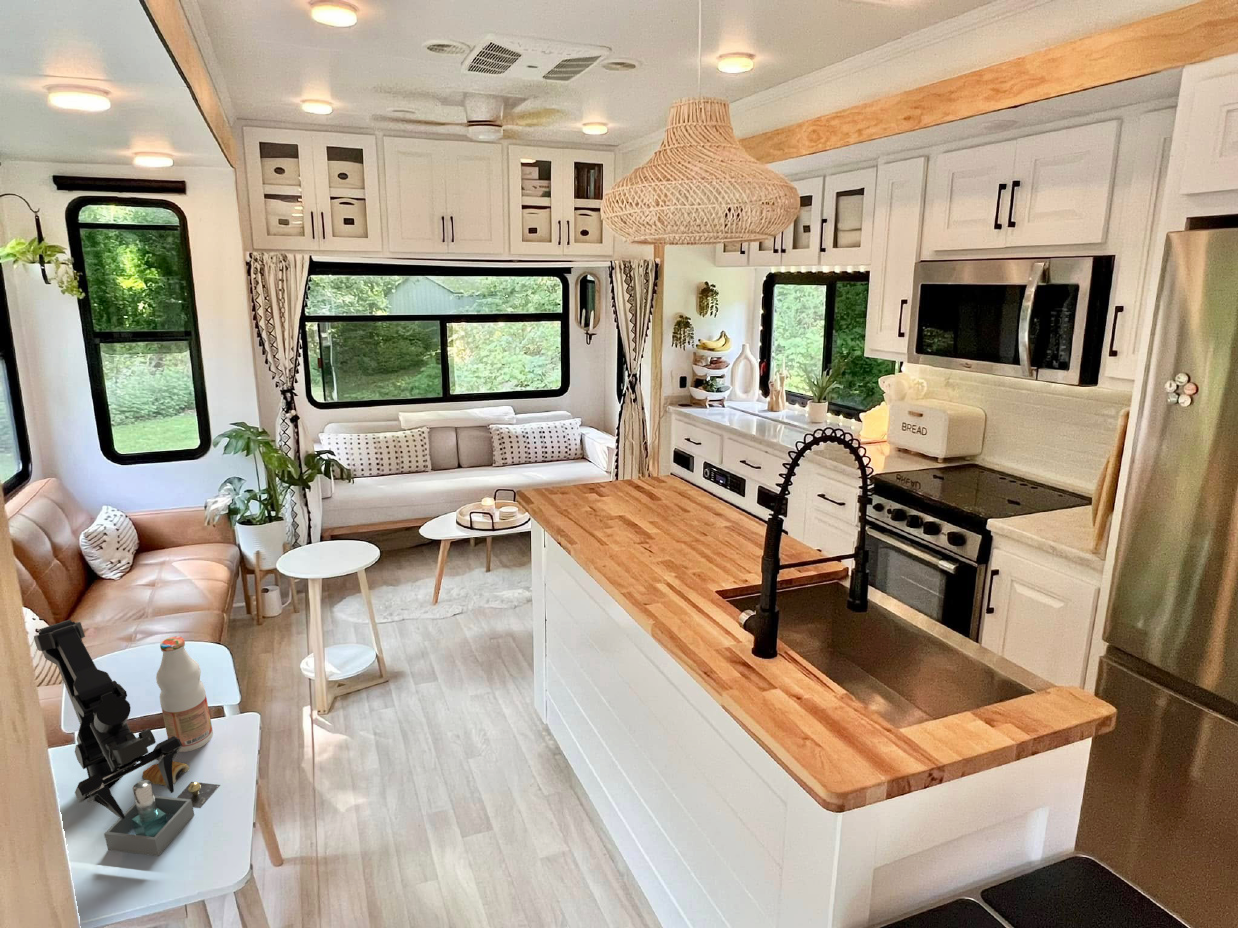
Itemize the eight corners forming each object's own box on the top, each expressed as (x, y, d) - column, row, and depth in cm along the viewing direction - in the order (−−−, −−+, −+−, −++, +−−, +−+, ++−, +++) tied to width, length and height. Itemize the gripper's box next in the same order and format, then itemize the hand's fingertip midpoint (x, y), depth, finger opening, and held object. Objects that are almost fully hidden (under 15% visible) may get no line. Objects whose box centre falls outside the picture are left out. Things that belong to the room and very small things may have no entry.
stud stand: (171, 808, 166) (167, 793, 165) (192, 785, 173) (189, 770, 172) (201, 811, 166) (198, 796, 164) (221, 788, 172) (218, 773, 171)
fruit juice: (161, 753, 183) (138, 651, 174) (186, 728, 192) (166, 629, 183) (198, 756, 182) (178, 653, 173) (221, 731, 191) (203, 632, 182)
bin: (109, 853, 155) (104, 833, 153) (147, 812, 165) (143, 794, 163) (159, 859, 153) (154, 839, 152) (195, 818, 164) (191, 799, 162)
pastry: (135, 786, 173) (132, 772, 172) (157, 766, 179) (154, 752, 178) (173, 791, 172) (170, 777, 170) (193, 770, 178) (191, 757, 177)
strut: (135, 835, 158) (124, 788, 155) (157, 821, 162) (146, 775, 158) (147, 844, 156) (136, 796, 152) (169, 830, 160) (158, 782, 156)
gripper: (67, 749, 146) (103, 823, 144) (170, 702, 160) (204, 768, 158) (61, 766, 153) (94, 836, 151) (160, 719, 168) (192, 783, 165)
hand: (148, 805), depth 156 cm, fingers open, 9 cm apart
